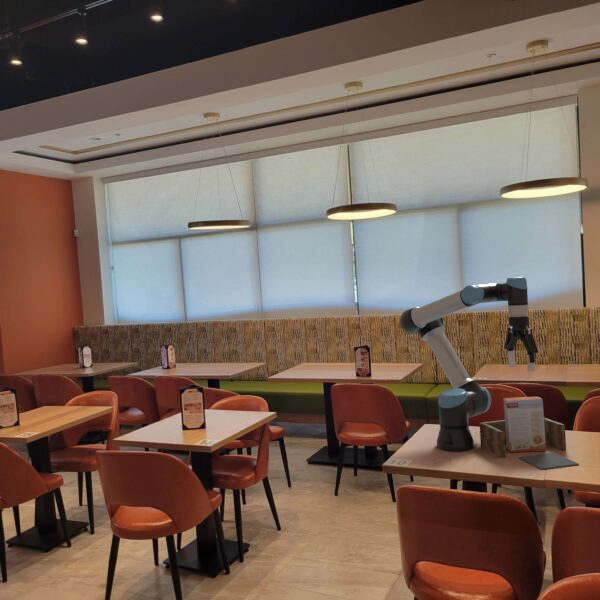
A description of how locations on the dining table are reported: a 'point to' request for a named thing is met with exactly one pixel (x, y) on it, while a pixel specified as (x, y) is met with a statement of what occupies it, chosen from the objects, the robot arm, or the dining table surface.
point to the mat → (548, 461)
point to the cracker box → (524, 424)
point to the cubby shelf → (496, 436)
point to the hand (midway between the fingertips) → (521, 369)
